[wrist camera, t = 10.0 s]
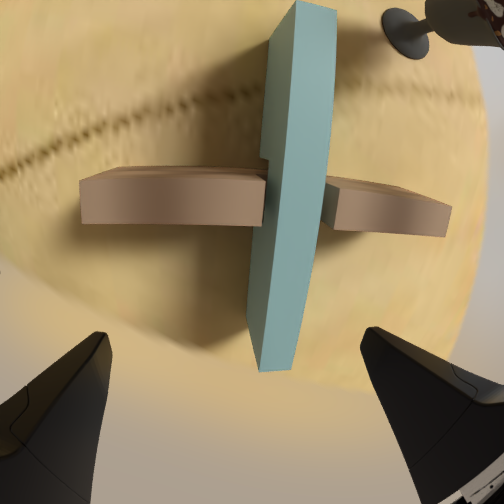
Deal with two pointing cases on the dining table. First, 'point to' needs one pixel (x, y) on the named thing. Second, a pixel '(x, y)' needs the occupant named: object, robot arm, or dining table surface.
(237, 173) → the walnut slotted plate
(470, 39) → the sundae
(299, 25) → the teal slotted plate
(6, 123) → the dining table surface
